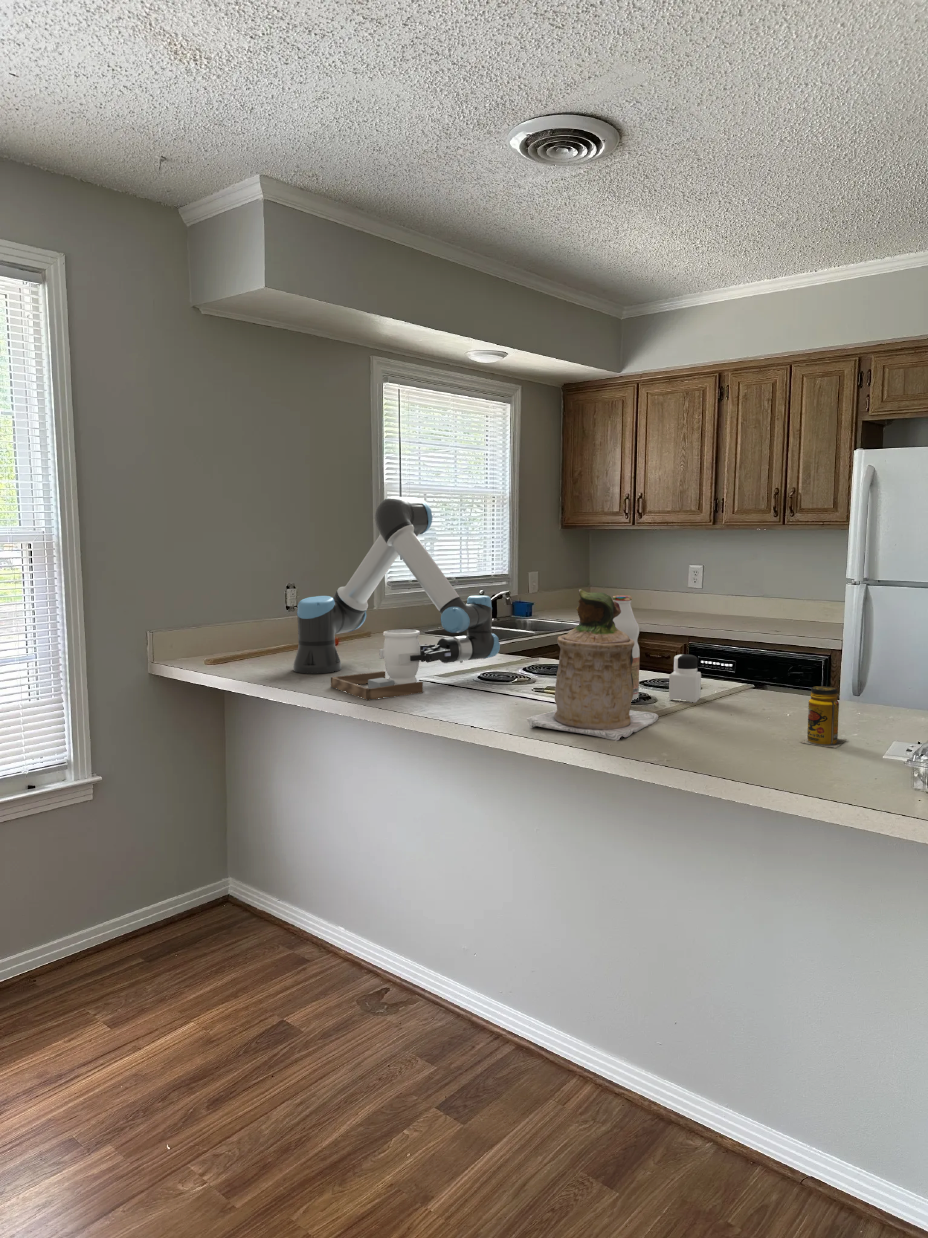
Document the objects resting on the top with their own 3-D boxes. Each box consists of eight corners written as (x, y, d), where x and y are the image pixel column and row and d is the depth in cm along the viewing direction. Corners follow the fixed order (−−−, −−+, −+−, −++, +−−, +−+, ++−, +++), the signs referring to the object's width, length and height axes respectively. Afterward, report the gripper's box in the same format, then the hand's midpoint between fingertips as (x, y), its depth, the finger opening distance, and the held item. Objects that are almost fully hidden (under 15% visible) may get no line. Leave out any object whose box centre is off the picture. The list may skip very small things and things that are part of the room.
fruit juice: (606, 704, 223) (608, 597, 219) (599, 697, 232) (601, 594, 229) (642, 704, 223) (644, 597, 220) (633, 696, 232) (635, 594, 229)
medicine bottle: (700, 698, 230) (701, 654, 229) (696, 703, 224) (697, 658, 223) (673, 695, 233) (675, 652, 232) (668, 700, 227) (669, 656, 226)
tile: (368, 690, 244) (367, 679, 244) (382, 687, 248) (382, 677, 247) (380, 693, 240) (379, 682, 239) (394, 691, 243) (394, 680, 243)
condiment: (800, 743, 184) (802, 688, 183) (813, 735, 190) (815, 682, 189) (835, 749, 179) (838, 692, 178) (847, 740, 186) (850, 686, 184)
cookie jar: (623, 743, 185) (626, 595, 181) (523, 728, 198) (523, 591, 194) (661, 720, 206) (664, 587, 202) (568, 708, 219) (569, 583, 215)
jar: (423, 679, 252) (422, 628, 250) (417, 686, 242) (416, 633, 240) (387, 678, 253) (386, 628, 252) (380, 685, 243) (379, 633, 241)
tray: (331, 687, 247) (330, 677, 246) (383, 680, 257) (383, 670, 256) (367, 700, 229) (367, 689, 229) (422, 692, 239) (422, 682, 239)
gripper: (475, 667, 248) (410, 675, 235) (432, 656, 267) (370, 664, 254) (475, 641, 247) (409, 648, 235) (432, 633, 266) (369, 639, 253)
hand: (389, 656), depth 244 cm, fingers closed on jar, 10 cm apart
